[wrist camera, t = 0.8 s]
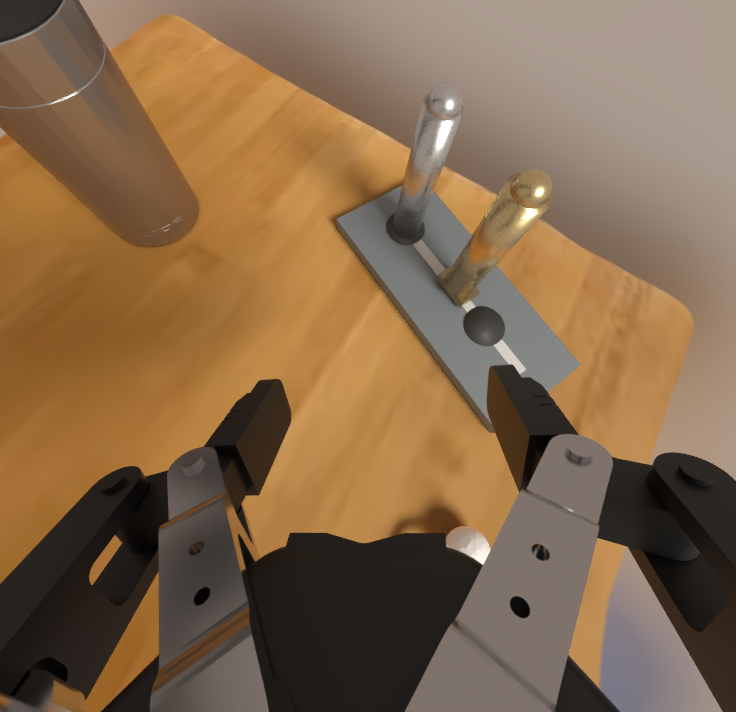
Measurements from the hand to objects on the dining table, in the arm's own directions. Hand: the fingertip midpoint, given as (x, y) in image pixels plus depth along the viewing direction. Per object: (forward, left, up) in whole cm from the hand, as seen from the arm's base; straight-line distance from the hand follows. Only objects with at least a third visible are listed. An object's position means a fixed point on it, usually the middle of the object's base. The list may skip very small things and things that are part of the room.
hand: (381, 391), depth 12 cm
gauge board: (-5, +16, -19) cm, 25 cm away
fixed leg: (-14, +16, -17) cm, 28 cm away
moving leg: (-5, +16, -17) cm, 24 cm away
